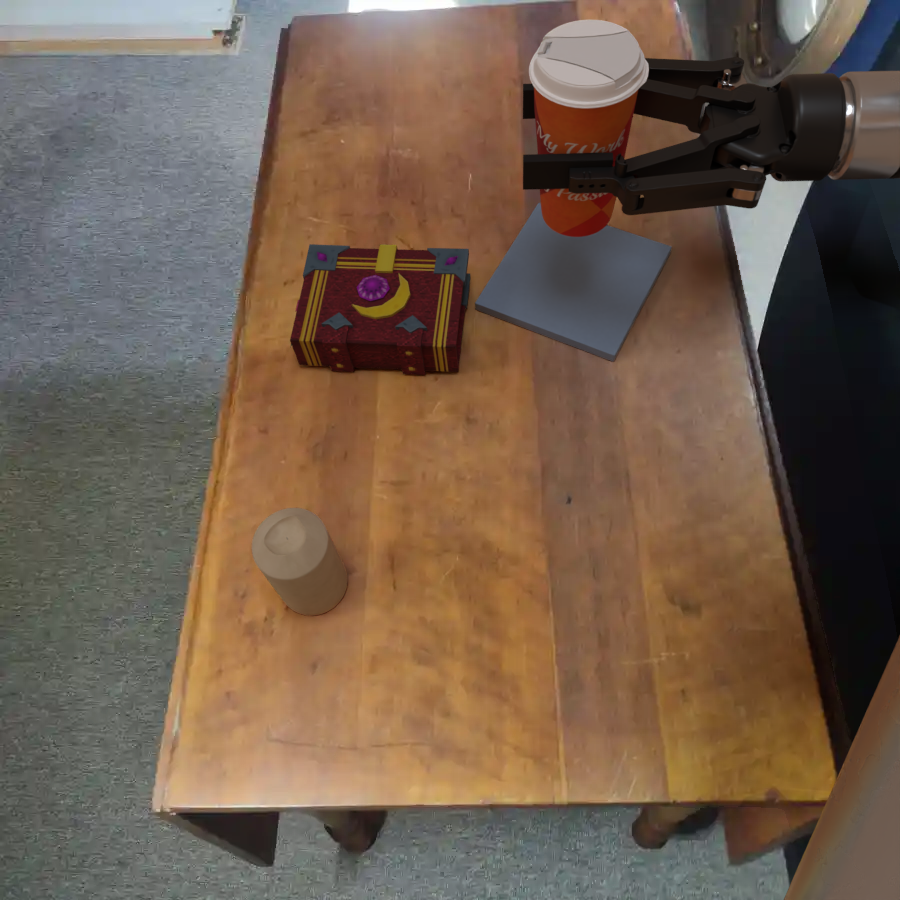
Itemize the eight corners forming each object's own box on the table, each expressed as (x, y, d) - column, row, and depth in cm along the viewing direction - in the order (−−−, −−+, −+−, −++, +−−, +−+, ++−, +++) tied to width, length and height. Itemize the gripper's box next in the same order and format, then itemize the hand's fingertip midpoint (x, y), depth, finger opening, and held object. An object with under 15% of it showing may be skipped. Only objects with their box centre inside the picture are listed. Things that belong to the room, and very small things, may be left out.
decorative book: (460, 377, 76) (456, 345, 72) (286, 370, 78) (272, 337, 74) (471, 279, 82) (468, 243, 77) (308, 274, 83) (296, 239, 79)
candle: (305, 540, 70) (275, 486, 61) (361, 570, 68) (338, 519, 59) (266, 596, 67) (229, 549, 59) (323, 629, 66) (294, 585, 57)
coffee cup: (518, 239, 70) (516, 82, 57) (539, 170, 74) (543, 9, 61) (618, 254, 69) (640, 97, 56) (635, 183, 72) (660, 20, 59)
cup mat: (613, 362, 76) (614, 355, 75) (475, 309, 80) (474, 302, 79) (670, 253, 81) (672, 246, 81) (538, 209, 85) (538, 202, 84)
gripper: (839, 265, 62) (522, 269, 63) (796, 81, 71) (522, 90, 73) (877, 187, 55) (523, 195, 57) (824, -4, 64) (523, 8, 66)
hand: (523, 136), depth 65 cm, fingers closed on coffee cup, 7 cm apart
